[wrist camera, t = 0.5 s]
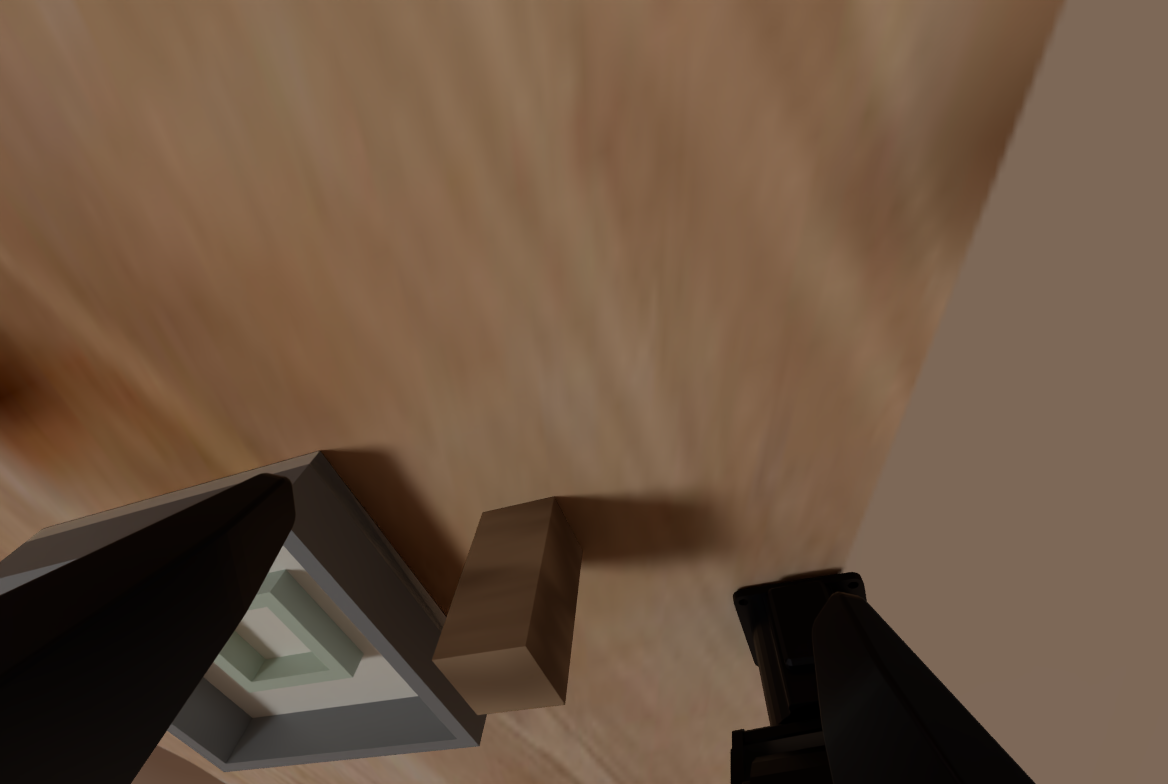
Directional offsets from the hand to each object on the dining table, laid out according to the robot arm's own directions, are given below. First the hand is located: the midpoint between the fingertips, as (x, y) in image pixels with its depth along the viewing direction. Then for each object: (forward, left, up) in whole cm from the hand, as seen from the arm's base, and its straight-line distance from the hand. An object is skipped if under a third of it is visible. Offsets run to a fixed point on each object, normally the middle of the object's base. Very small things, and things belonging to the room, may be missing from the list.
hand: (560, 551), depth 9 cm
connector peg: (-12, +8, -14) cm, 20 cm away
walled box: (-14, +26, -14) cm, 33 cm away
